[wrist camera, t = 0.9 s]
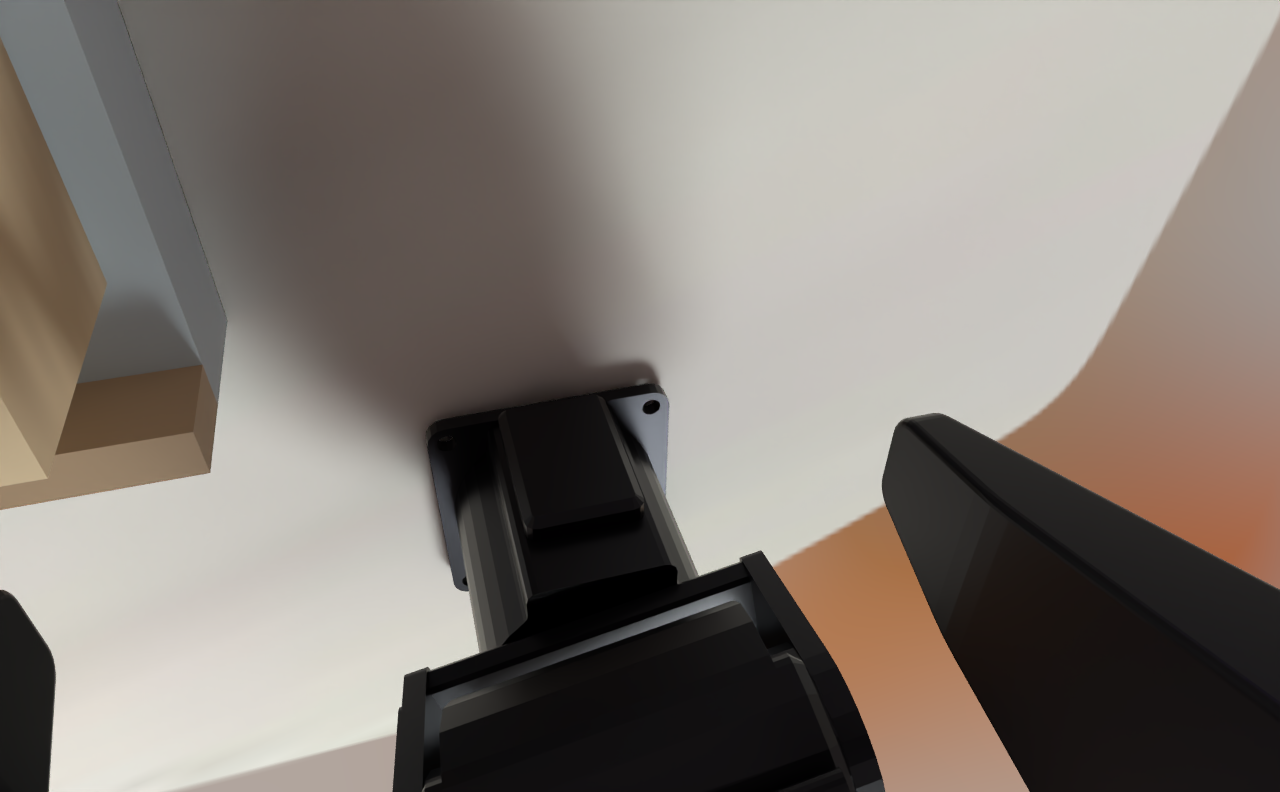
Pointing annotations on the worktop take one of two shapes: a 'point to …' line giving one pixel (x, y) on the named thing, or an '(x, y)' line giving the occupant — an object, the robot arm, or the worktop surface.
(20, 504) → the board
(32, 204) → the oak block
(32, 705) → the robot arm
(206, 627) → the worktop surface
